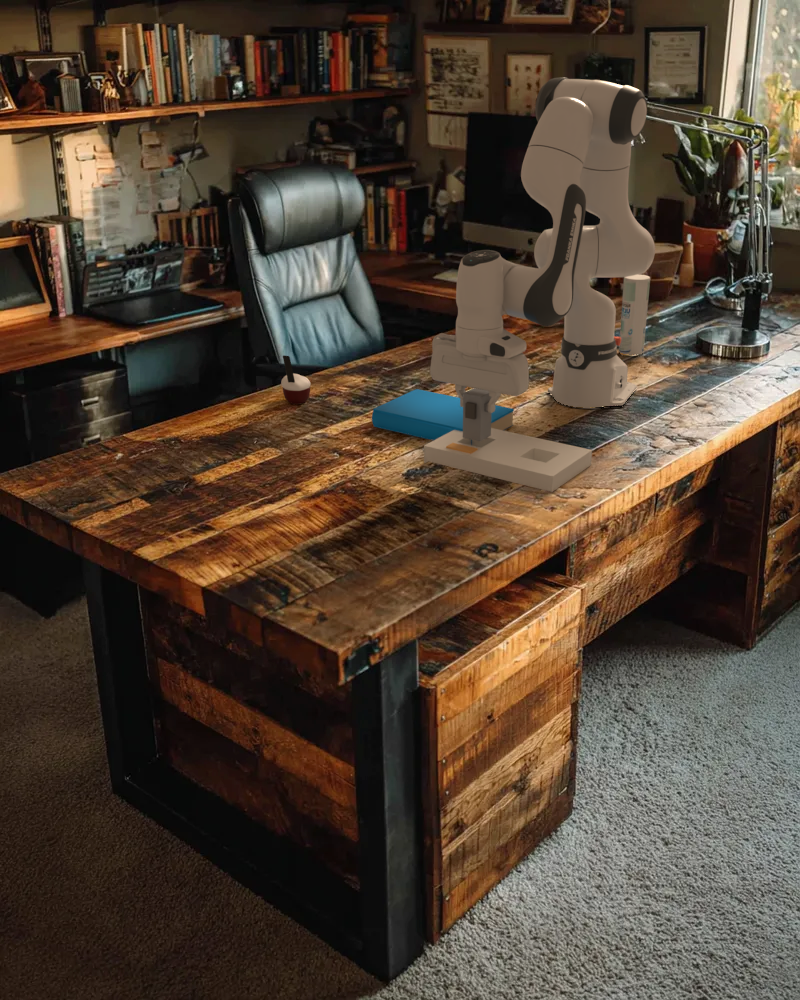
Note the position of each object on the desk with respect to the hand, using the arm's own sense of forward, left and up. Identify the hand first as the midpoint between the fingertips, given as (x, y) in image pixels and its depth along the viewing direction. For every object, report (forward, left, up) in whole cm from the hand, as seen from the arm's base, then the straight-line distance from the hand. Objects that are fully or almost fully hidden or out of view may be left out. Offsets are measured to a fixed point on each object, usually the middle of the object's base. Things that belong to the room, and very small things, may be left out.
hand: (477, 409), depth 210 cm
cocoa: (-8, -53, -11) cm, 55 cm away
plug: (0, 0, -6) cm, 6 cm away
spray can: (-87, -6, -11) cm, 88 cm away
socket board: (0, +7, -10) cm, 13 cm away
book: (-11, -15, -10) cm, 21 cm away
